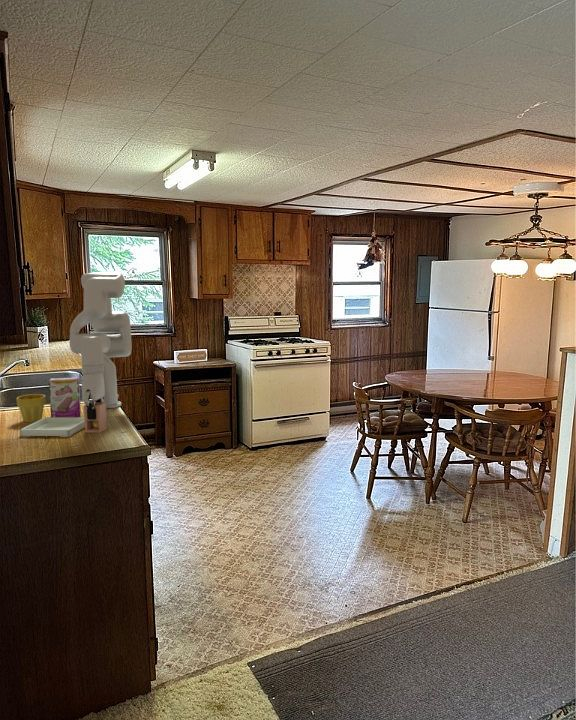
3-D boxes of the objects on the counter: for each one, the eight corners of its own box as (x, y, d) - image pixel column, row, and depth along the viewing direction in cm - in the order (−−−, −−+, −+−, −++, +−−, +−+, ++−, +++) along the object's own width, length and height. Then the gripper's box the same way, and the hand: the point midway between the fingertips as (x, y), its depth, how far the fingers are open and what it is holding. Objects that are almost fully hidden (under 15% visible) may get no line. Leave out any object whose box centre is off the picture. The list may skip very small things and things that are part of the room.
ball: (94, 428, 195) (95, 420, 195) (101, 428, 195) (102, 420, 195) (90, 427, 192) (91, 419, 192) (98, 427, 192) (99, 419, 192)
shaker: (91, 428, 196) (90, 402, 195) (107, 428, 196) (106, 402, 195) (85, 432, 190) (83, 405, 189) (101, 432, 190) (99, 405, 189)
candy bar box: (50, 420, 208) (48, 380, 206) (52, 417, 213) (49, 378, 210) (80, 418, 211) (78, 378, 209) (81, 415, 216) (79, 376, 214)
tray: (45, 423, 203) (45, 417, 203) (90, 423, 202) (90, 417, 202) (20, 436, 185) (19, 429, 185) (69, 436, 185) (69, 429, 184)
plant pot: (35, 424, 203) (33, 399, 201) (12, 423, 205) (10, 398, 203) (52, 417, 213) (50, 394, 211) (30, 416, 215) (28, 393, 213)
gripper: (92, 365, 199) (95, 411, 201) (72, 372, 182) (75, 423, 184) (112, 365, 199) (114, 411, 201) (93, 373, 182) (96, 423, 184)
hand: (95, 416), depth 193 cm, fingers closed on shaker, 6 cm apart
